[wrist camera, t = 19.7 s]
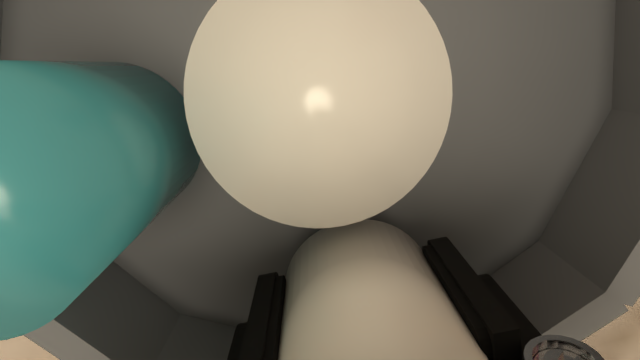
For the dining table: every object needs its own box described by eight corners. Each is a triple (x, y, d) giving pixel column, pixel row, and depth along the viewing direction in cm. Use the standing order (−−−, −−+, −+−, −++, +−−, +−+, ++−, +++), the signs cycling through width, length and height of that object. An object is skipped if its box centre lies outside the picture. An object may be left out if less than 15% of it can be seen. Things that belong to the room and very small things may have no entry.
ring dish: (616, 290, 15) (725, 370, 11) (134, 385, 15) (76, 491, 12) (654, -452, 8) (950, -895, 4) (-169, -225, 9) (-517, -435, 5)
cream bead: (437, 329, 12) (555, 570, 6) (303, 355, 12) (298, 614, 6) (420, 204, 11) (550, 369, 5) (268, 236, 11) (222, 433, 5)
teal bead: (219, 191, 12) (135, 313, 6) (86, 221, 12) (-119, 365, 6) (172, 45, 10) (3, 22, 5) (22, 80, 10) (-322, 100, 5)
